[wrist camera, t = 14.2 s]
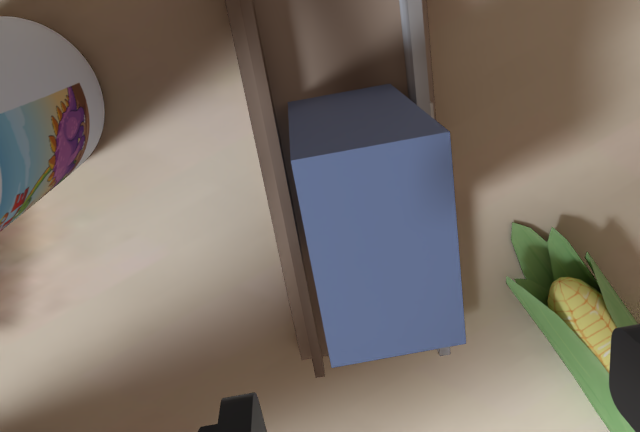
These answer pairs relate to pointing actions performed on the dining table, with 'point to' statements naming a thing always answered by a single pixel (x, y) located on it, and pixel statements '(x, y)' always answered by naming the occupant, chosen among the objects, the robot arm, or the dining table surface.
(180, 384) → the dining table surface
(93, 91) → the milk bottle
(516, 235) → the edible corn
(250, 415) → the robot arm
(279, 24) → the shelf channel
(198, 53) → the dining table surface
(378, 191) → the blue carton
